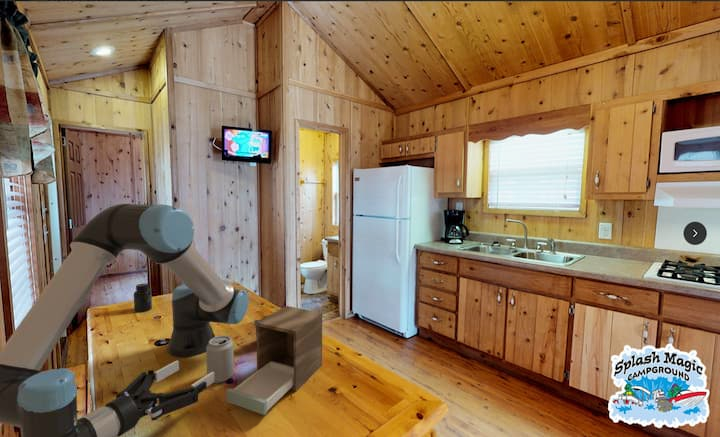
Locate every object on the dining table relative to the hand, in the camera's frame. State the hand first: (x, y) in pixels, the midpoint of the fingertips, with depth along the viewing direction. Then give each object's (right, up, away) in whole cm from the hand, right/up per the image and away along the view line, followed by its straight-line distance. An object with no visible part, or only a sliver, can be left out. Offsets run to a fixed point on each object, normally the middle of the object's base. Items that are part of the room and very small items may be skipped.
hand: (195, 370), depth 88 cm
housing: (+24, -6, +12) cm, 28 cm away
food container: (+13, -5, +32) cm, 35 cm away
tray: (+20, -6, +1) cm, 21 cm away
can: (+3, -6, +9) cm, 11 cm away
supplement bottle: (-56, -1, +60) cm, 82 cm away
